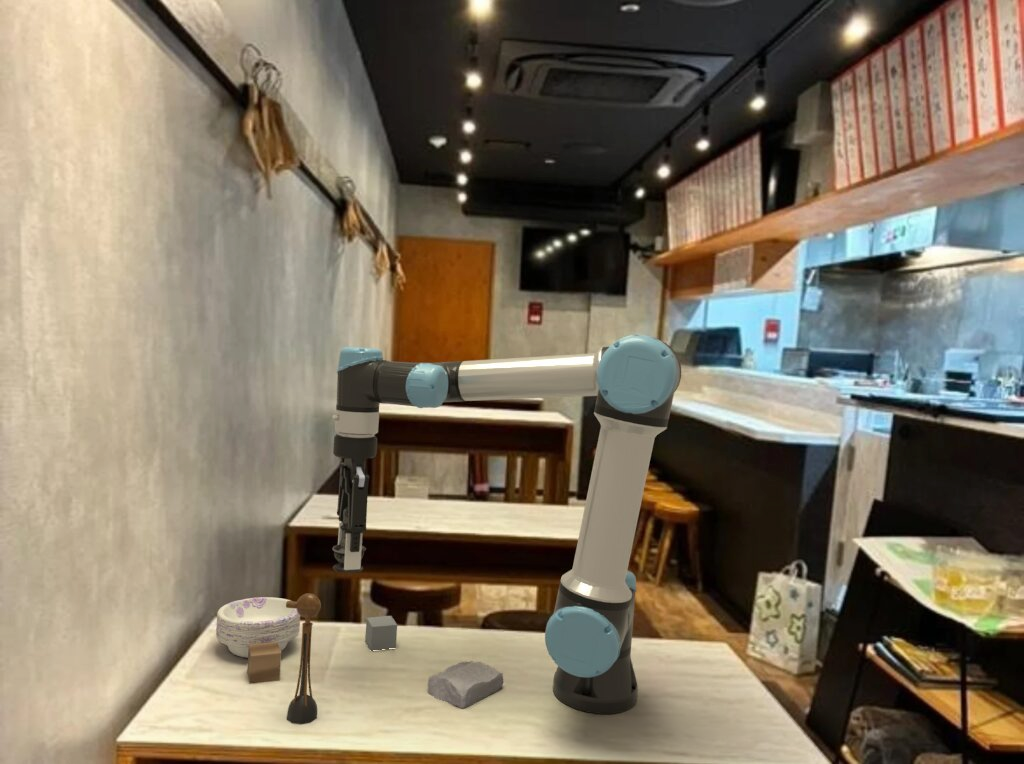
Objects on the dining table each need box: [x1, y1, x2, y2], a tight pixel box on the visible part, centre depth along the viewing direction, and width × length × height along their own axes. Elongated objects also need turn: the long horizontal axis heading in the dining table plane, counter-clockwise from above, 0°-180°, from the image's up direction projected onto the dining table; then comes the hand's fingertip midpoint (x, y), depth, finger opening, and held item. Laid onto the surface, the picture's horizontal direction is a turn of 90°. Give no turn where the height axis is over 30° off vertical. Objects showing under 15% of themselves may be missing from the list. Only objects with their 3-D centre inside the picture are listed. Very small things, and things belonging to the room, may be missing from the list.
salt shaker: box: [332, 507, 367, 574], centre depth 132 cm, size 6×6×12 cm
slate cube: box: [364, 615, 398, 652], centre depth 148 cm, size 5×5×5 cm
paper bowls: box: [215, 596, 301, 659], centre depth 142 cm, size 15×15×8 cm
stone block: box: [427, 660, 504, 709], centre depth 132 cm, size 12×5×10 cm
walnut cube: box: [246, 642, 282, 684], centre depth 131 cm, size 5×5×5 cm
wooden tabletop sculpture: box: [286, 593, 322, 725], centre depth 118 cm, size 6×5×20 cm
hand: (348, 563), depth 132 cm, fingers closed on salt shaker, 6 cm apart
